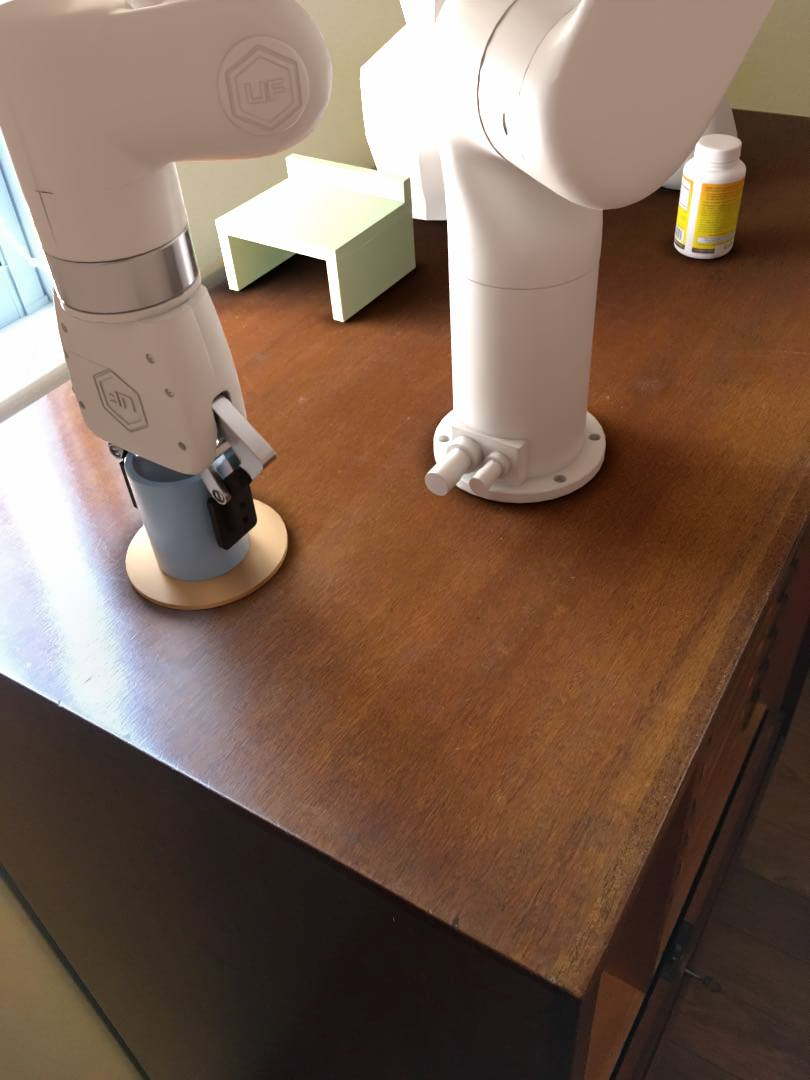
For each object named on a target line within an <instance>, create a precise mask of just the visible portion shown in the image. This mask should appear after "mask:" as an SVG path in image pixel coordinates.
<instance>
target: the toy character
mask: <svg viewBox="0 0 810 1080" xmlns="http://www.w3.org/2000/svg"><path fill="white" fill-rule="evenodd" d="M736 127H737V126H736V122H735V118H734V113H733V109H732V107H731V103H730V100H729V98H728V95H727V93H726V94H725V96H724V97H723V99H722V101H721V103H720V105H719V107H718V108H717V110H716V112H715V114H714V116H713V117H712V119H711V121H710V123H709V125H708V126H707V128H706V130H705V132H704V133H703V135H702V137H703V136H706V135H712V134H724V135H730V136H734V137H736V138H738V131H737V128H736ZM695 148H696V146H695V147H694V149H693V150H692V152H691V153H690V155H689V156H688V157H687V159H686V160H685V161H684V162H683V164H682V165H681V166H680V167H679V169H678V170H677V171H676V172H675V173H674V175H673V176H671V177H670V178H669V179H668V180H667V181H666V182H665V183H664V184H663V185H662V186H661V187H663V188H665V189H670V190H675V191H681V184H682V177H683V170H684V166H685V164H686V163H687V162H688V161H689V160H690V159H692V158H694V155H695V154H694V152H695Z"/></svg>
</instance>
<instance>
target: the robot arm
mask: <svg viewBox="0 0 810 1080" xmlns="http://www.w3.org/2000/svg"><path fill="white" fill-rule="evenodd" d="M130 2H131V3H129V2H128V1H127V0H9V1H7V2H4V3H2V4H0V131H1V133H2V137H3V139H4V142H5V145H6V148H7V151H8V153H9V156H10V159H11V163H12V165H13V168H14V172H15V174H16V177H17V180H18V183H19V185H20V188H21V191H22V195H23V198H24V200H25V203H26V206H27V209H28V212H29V215H30V218H31V220H32V224H33V227H34V230H35V233H36V235H37V238H38V241H39V244H40V246H41V251H42V254H43V256H44V259H45V262H46V265H47V268H48V271H49V274H50V278H51V280H52V283H53V288H52V298H53V299H52V300H53V308H54V315H55V322H56V327H57V333H58V338H59V342H60V347H61V351H62V354H63V358H64V362H65V365H66V366H65V367H66V370H67V372H68V377H69V379H70V383H71V390H72V391H73V394H74V397H75V400H76V402H77V406H78V408H79V412H80V414H81V417H82V419H83V422H84V424H85V426H86V428H87V430H89V432H91V433H92V434H93V435H94V436H96V437H97V438H99V439H101V440H102V441H105V442H106V443H107V449H108V451H109V453H110V454H111V455H112V456H113V457H114V458H115V459H117V460H120V462H118V465H119V466H120V467H119V468H120V471H121V473H122V476H123V480H124V482H125V485H126V488H127V491H128V494H129V497H130V499H131V503H132V505H133V506H132V507H133V508H135V509H137V510H138V507H137V504H136V501H135V498H134V495H133V492H132V489H131V486H130V483H129V481H128V478H127V475H126V472H125V468H124V462H125V458H126V455H127V453H128V452H131V453H133V454H136V455H138V456H140V457H143V458H145V459H147V460H150V461H152V462H155V463H157V464H159V465H162V466H164V467H167V468H169V469H172V470H174V471H177V472H180V473H184V474H189V475H198V474H199V476H200V477H201V479H202V480H203V482H204V484H205V485H206V487H207V489H208V490H209V492H210V493H211V495H212V496H211V497H210V498H209V499H208V501H207V507H208V511H209V514H210V518H211V522H212V526H213V529H214V533H215V537H216V540H217V544H218V546H219V547H220V548H222V549H225V550H229V549H230V548H231V547H232V546H233V545H234V544H236V543H237V542H238V541H239V540H240V539H241V538H242V537H243V536H245V535H246V534H247V533H248V532H249V531H250V530H251V529H252V528H254V527H255V525H256V524H257V515H256V511H255V506H254V502H253V499H254V497H253V493H252V488H251V484H252V483H253V482H255V480H257V479H258V478H260V477H261V475H263V474H264V473H265V471H266V470H268V468H269V467H270V466H271V465H273V464H274V463H275V461H276V460H277V458H278V456H277V453H276V450H274V449H273V447H272V446H271V444H269V443H268V442H267V440H266V439H264V437H263V436H262V435H261V434H260V433H259V432H258V430H256V429H255V427H254V426H253V425H252V424H251V423H250V422H249V421H248V417H247V411H246V406H245V401H244V397H243V392H242V388H241V384H240V379H239V376H238V372H237V369H236V365H235V362H234V359H233V354H232V351H231V349H230V345H229V343H228V340H227V337H226V334H225V331H224V329H223V326H222V323H221V321H220V318H219V315H218V313H217V310H216V307H215V305H214V302H213V300H212V298H211V296H210V293H209V291H208V288H207V287H206V286H205V285H204V284H202V283H201V282H202V276H201V270H200V266H199V263H198V257H197V254H196V250H195V245H194V240H193V235H192V231H191V226H190V223H189V217H188V213H187V208H186V204H185V199H184V195H183V191H182V185H181V182H180V177H179V173H178V168H177V164H176V163H185V162H189V163H190V162H226V161H227V162H228V161H229V162H231V161H249V160H257V159H263V158H268V157H272V156H276V155H278V154H281V153H283V152H286V151H288V150H291V149H293V148H294V147H296V146H297V145H299V144H301V143H302V142H303V141H304V140H305V139H307V138H308V137H309V136H310V135H311V134H312V133H313V132H314V131H315V129H316V128H317V127H318V126H319V124H320V123H321V121H322V119H323V117H324V115H325V114H326V112H327V109H328V107H329V104H330V100H331V96H332V91H333V82H334V81H333V76H334V75H333V74H334V73H333V64H332V58H331V55H330V51H329V48H328V45H327V43H326V40H325V37H324V36H323V34H322V31H321V30H320V28H319V26H318V25H317V23H316V22H315V20H314V19H313V18H312V17H311V15H310V14H309V13H308V12H307V11H306V9H304V7H302V5H301V4H300V3H298V2H297V1H296V0H131V1H130ZM775 2H776V0H446V1H445V3H444V5H443V7H442V9H441V11H440V13H439V15H438V18H437V20H436V23H435V26H434V30H433V34H432V38H431V43H430V51H429V65H428V67H429V89H430V98H431V105H432V111H433V117H434V122H435V128H436V133H437V139H438V144H439V150H440V155H441V161H442V168H443V176H444V185H445V195H446V208H447V220H446V223H447V225H446V226H447V249H448V250H447V251H448V283H449V285H448V286H449V309H450V312H449V313H450V336H451V337H450V340H451V341H450V342H451V370H452V397H453V398H452V400H453V401H452V403H453V409H451V410H450V411H449V412H448V413H447V414H445V416H444V417H443V418H442V419H441V421H440V423H439V424H438V425H437V427H436V429H435V432H434V436H433V454H434V460H435V463H436V464H435V465H434V466H433V467H432V468H431V469H430V470H429V471H428V472H427V473H426V474H425V475H424V484H425V486H426V487H427V489H428V490H429V491H430V492H431V494H434V495H435V496H438V497H445V496H446V495H448V493H450V491H451V490H452V489H453V488H454V487H455V486H456V487H457V488H459V489H461V490H462V491H464V492H466V493H468V494H471V495H473V496H477V497H480V498H483V499H485V500H490V501H494V502H500V503H510V504H528V503H540V502H545V501H550V500H555V499H558V498H560V497H563V496H566V495H569V494H571V493H573V492H575V491H577V490H578V489H581V488H583V487H584V486H585V485H587V484H588V483H589V482H590V481H591V480H592V479H594V477H596V475H597V474H598V473H599V471H600V470H601V468H602V465H603V463H604V460H605V455H606V454H605V453H606V447H607V445H606V443H607V442H606V435H605V432H604V429H603V426H602V425H601V423H600V422H599V421H598V419H597V418H596V417H595V416H594V415H593V414H592V413H590V411H589V410H588V402H589V390H590V389H589V388H590V377H591V365H592V353H593V342H594V331H595V329H594V328H595V319H596V306H597V294H598V284H599V273H600V271H599V270H600V258H601V255H602V254H601V253H602V240H603V226H604V225H603V223H604V220H603V218H604V217H603V215H604V213H603V211H604V210H616V209H621V208H625V207H628V206H630V205H633V204H636V203H638V202H640V201H642V200H644V199H646V198H647V197H649V196H651V195H652V194H653V193H655V192H656V191H657V190H659V189H660V188H661V187H663V186H662V185H663V184H664V183H665V182H666V181H667V180H668V179H669V178H670V177H671V176H673V175H674V173H675V172H676V171H677V170H678V169H679V167H680V166H681V165H682V164H683V162H684V161H685V160H686V159H687V157H688V156H689V155H690V153H691V152H692V150H693V149H694V147H695V146H696V144H697V143H698V141H699V140H700V138H701V137H702V135H703V133H704V132H705V130H706V128H707V126H708V125H709V123H710V121H711V119H712V117H713V116H714V114H715V112H716V110H717V108H718V107H719V105H720V103H721V101H722V99H723V97H724V96H725V94H726V95H727V92H728V90H729V88H730V86H731V85H732V82H733V81H734V79H735V77H736V75H737V74H738V71H739V70H740V68H741V66H742V65H743V62H744V61H745V58H746V56H747V54H748V53H749V51H750V49H751V47H752V45H753V43H754V42H755V40H756V38H757V36H758V34H759V32H760V30H761V29H762V27H763V24H764V23H765V21H766V19H767V17H768V16H769V13H770V11H771V10H772V8H773V6H774V4H775ZM223 454H224V456H225V458H226V459H227V461H228V463H229V464H230V466H231V468H232V469H233V472H231V473H230V474H229V475H228V476H227V477H225V478H224V479H222V477H221V476H220V474H219V472H218V471H217V469H216V467H215V466H214V464H213V462H214V461H215V460H216V459H218V458H219V457H220V456H222V455H223Z"/></svg>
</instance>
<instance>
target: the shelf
mask: <svg viewBox="0 0 810 1080" xmlns="http://www.w3.org/2000/svg"><path fill="white" fill-rule="evenodd" d="M285 162H286V169H287V176H288V177H287V178H285V179H284V180H282V181H280V182H279V183H276V184H275V185H273V186H272V187H270V188H268V189H267V190H265V191H263V192H261V193H259V194H258V195H256V196H254V197H252V198H251V199H249V200H247V201H246V202H244V203H242V204H240V205H238V206H237V207H235V208H234V209H232V210H230V211H228V212H226V213H225V214H223V215H221V216H219V217H218V218H216V219H214V223H215V227H216V231H217V234H218V240H219V244H220V248H221V249H220V250H221V253H222V259H223V263H224V268H225V273H226V278H227V281H228V282H227V283H228V287H229V290H233V291H236V292H240V291H242V290H243V289H244V288H245V287H247V286H248V285H250V284H252V283H254V282H255V281H256V280H258V279H260V278H261V277H263V276H264V275H266V274H267V273H268V272H271V270H273V269H274V268H276V267H278V266H279V265H280V264H282V263H283V262H284V263H285V261H287V260H288V259H290V258H291V257H293V256H294V255H296V254H299V255H304V256H308V257H311V258H315V259H318V260H323V261H325V263H326V271H327V279H328V286H329V294H330V302H331V310H332V318H333V320H334V321H336V322H337V321H338V322H341V323H345V322H346V321H347V320H349V319H350V318H352V317H353V316H354V315H356V314H357V313H358V312H359V311H360V310H362V309H363V308H365V307H366V306H367V305H368V304H370V303H371V302H373V301H374V300H375V299H376V298H378V297H379V296H381V294H383V293H384V292H386V291H387V290H388V289H389V288H390V287H391V288H392V286H393V285H395V284H396V283H397V282H398V281H400V280H401V279H403V278H404V277H406V276H407V275H408V274H409V273H410V272H412V271H413V270H414V269H415V268H416V267H417V265H416V250H415V238H414V237H415V235H414V234H415V233H414V218H413V215H412V198H411V182H410V177H407V176H402V175H397V174H392V173H387V172H382V171H378V169H373V168H368V167H363V166H358V165H353V164H352V165H351V164H347V163H343V162H338V161H332V160H327V159H322V158H318V157H313V156H308V155H302V154H297V153H291V154H289V155H287V156H286V157H285Z"/></svg>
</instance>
